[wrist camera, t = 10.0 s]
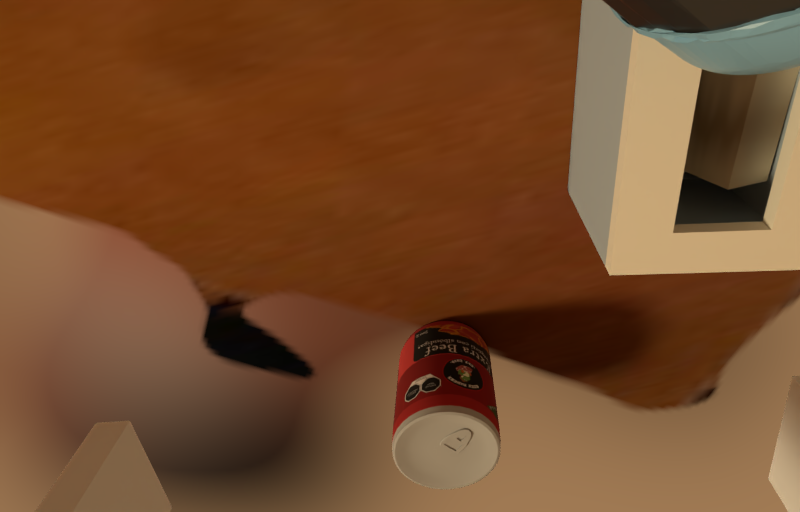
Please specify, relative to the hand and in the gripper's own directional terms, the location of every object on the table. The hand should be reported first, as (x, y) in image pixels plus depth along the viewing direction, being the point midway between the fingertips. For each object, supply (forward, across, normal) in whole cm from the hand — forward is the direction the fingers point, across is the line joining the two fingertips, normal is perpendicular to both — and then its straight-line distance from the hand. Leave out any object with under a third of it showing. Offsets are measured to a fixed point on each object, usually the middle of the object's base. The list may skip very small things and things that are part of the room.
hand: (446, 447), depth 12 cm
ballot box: (+32, +14, -2) cm, 35 cm away
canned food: (+32, -2, -23) cm, 39 cm away
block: (+30, +15, -2) cm, 34 cm away
